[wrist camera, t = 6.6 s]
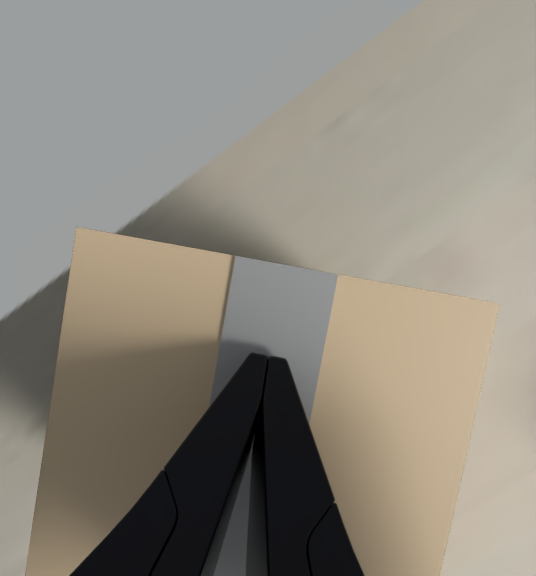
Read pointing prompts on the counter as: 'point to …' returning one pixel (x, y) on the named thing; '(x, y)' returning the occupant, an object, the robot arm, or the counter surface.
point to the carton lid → (221, 367)
